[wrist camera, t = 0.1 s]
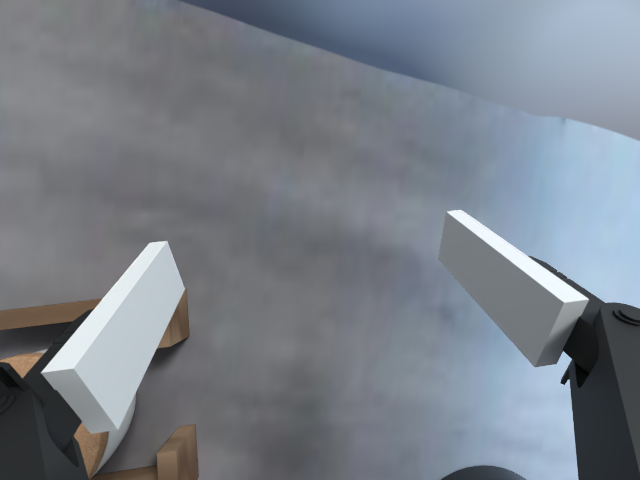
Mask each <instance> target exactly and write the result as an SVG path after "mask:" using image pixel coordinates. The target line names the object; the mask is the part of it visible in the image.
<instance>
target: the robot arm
mask: <svg viewBox="0 0 640 480" xmlns="http://www.w3.org/2000/svg"><path fill="white" fill-rule="evenodd" d="M438 260H439V261H440V262H441V263H442V264H443V265H444V266H445V267H446V269H447V270H448V271H449V272H450V273H451V274H452V275H453V276H454V277H455V279H456V280H457V281H458V282H459V283H460V284H461V285H462V286H463V288H464V289H465V290H466V291H467V292H468V293H469V294H470V295H471V296H472V298H473V299H474V300H475V301H476V302H477V303H478V304H479V305H480V307H481V308H482V309H483V310H484V311H485V312H486V313H487V314H488V316H489V317H490V318H491V319H492V320H493V321H494V322H495V323H496V324H497V326H498V327H499V328H500V329H501V330H502V331H503V332H504V333H505V335H506V336H507V337H508V338H509V339H510V340H511V341H512V342H513V343H514V345H515V346H516V347H517V348H518V349H519V350H520V351H521V352H522V354H523V355H524V356H525V357H526V358H527V359H528V360H529V361H530V363H531V364H532V365H533V366H534V367H539V366H546V365H553V364H557V362H558V360H559V358H560V356H561V354H562V352H563V351H564V352H565V353H566V354H567V355H568V356H569V357H570V358H572V361H571V362H570V364H569V366H568V368H567V370H566V372H565V373H564V375H563V377H562V379H561V384H564V385H565V383H566V382H567V380H568V379H570V388H571V399H572V410H573V421H574V432H575V444H576V455H577V466H578V477H579V480H640V309H639V308H636V307H633V306H630V305H627V304H621V303H605V302H603V301H602V300H600V299H599V298H597V297H596V296H594V295H593V294H591V293H590V292H588V291H587V290H585V289H584V288H582V287H581V286H579V285H578V284H576V283H575V282H574V281H572V280H571V279H567V277H566V276H565V275H563V274H562V273H560V272H557V270H556V269H554V268H553V267H551V266H550V265H548V264H547V263H545V262H543V261H541V260H538V259H536V258H534V257H531V256H527V255H525V254H524V253H522V252H521V251H519V250H518V249H517V248H515V247H514V246H512V245H511V244H509V243H508V242H507V241H505V240H504V239H502V238H501V237H499V236H498V235H497V234H495V233H494V232H492V231H491V230H489V229H488V228H486V227H485V226H484V225H482V224H481V223H479V222H478V221H476V220H475V219H474V218H472V217H471V216H469V215H468V214H466V213H465V212H464V211H462V210H456V211H447V212H446V216H445V222H444V228H443V234H442V240H441V246H440V252H439V258H438ZM184 290H185V288H184V286H183V283H182V280H181V277H180V275H179V272H178V269H177V266H176V264H175V261H174V258H173V255H172V253H171V250H170V247H169V244H168V242H167V241H163V242H153V243H149V244H148V245H147V247H146V248H145V249H144V250H143V251H142V253H141V254H140V255H139V256H138V257H137V259H136V260H135V261H134V262H133V263H132V265H131V266H130V267H129V268H128V269H127V271H126V272H125V273H124V274H123V275H122V277H121V278H120V279H119V280H118V281H117V282H116V284H115V285H114V286H113V287H112V288H111V290H110V291H109V292H108V293H107V294H106V296H105V297H104V298H103V299H102V300H101V302H100V303H99V304H98V305H97V306H96V308H95V309H91V310H87V311H86V312H85V313H83V314H82V315H81V316H79V317H78V318H76V319H75V320H74V321H73V322H72V323H71V324H70V325H69V326H68V327H67V328H66V330H65V331H64V332H63V333H62V335H61V336H59V337H58V339H57V340H56V341H55V342H54V343H53V346H50V348H49V349H48V350H47V351H46V352H45V353H44V354H43V355H42V357H41V358H40V359H39V360H38V361H37V362H36V363H35V365H34V366H33V367H32V368H31V369H30V370H29V371H28V372H27V374H26V375H25V376H24V377H23V378H22V377H21V376H20V375H19V374H18V373H17V371H16V370H15V369H14V368H13V367H12V366H11V365H10V363H5V362H0V480H89V477H88V474H87V470H86V467H85V463H84V460H83V456H82V453H81V449H80V445H79V442H78V441H77V440H76V439H75V437H74V434H75V433H76V431H77V429H78V428H79V426H80V424H81V423H82V424H83V425H84V426H85V427H86V428H87V430H88V431H89V432H90V433H91V434H93V433H100V432H106V431H113V430H118V429H119V427H120V425H121V423H122V420H123V418H124V416H125V414H126V412H127V410H128V408H129V406H130V404H131V402H132V399H133V397H134V395H135V393H136V391H137V389H138V387H139V385H140V383H141V380H142V378H143V376H144V374H145V372H146V370H147V368H148V366H149V364H150V362H151V359H152V357H153V355H154V353H155V351H156V349H157V347H158V345H159V343H160V341H161V338H162V336H163V334H164V332H165V330H166V328H167V326H168V324H169V322H170V319H171V317H172V315H173V313H174V311H175V309H176V307H177V305H178V303H179V301H180V298H181V296H182V294H183V292H184ZM443 480H526V479H525V478H523V477H522V476H520V475H518V474H516V473H514V472H512V471H510V470H507V469H504V468H500V467H495V466H474V467H469V468H465V469H462V470H459V471H457V472H454V473H452V474H451V475H449V476H447V477H446V478H444V479H443Z"/></svg>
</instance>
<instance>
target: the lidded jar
mask: <svg viewBox="0 0 640 480" xmlns="http://www.w3.org/2000/svg"><path fill="white" fill-rule="evenodd" d="M47 350H48V349H45V350H41V351H37V352H33V353H27V354H21V355H17V356H13V357H9V358H5V359H2V360H0V362H5V363H10V365H11V366H12V367H13V368H14V369H15V370H16V371H17V373H18V374H19V375H20V376H21V377H22V378H23V377H24V376H25V375H26V374H27V372H28V371H29V370H30V369H31V368H32V367H33V366H34V365H35V363H36V362H37V361H38V360H39V359H40V358H41V357H42V355H43V354H44V353H45V352H46V351H47ZM135 404H136V393H135V395H134V397H133V399H132V402H131V404H130V406H129V408H128V410H127V412H126V414H125V416H124V418H123V420H122V423H121V425H120V427H119V429H118V430H113V431H106V432H100V433H93V434H91V433H90V432H89V431H88V430H87V428H86V427H85V426H84V425H83V424H82V423H81V424H80V426H79V428H78V429H77V431H76V433H75V434H74V437H75V439H76V440H77V441H78V442H79V445H80V449H81V453H82V456H83V460H84V463H85V467H86V470H87V474H88V477H89V480H90V479H91V478H92V477H93V476H94V475H95V474H96V473H97V472H98V471H99V470H100V468H101V467H102V466H103V465H104V464H105V463H106V462H107V460H108V459H109V458H110V457H111V455H112V454H113V453H114V452H115V450H116V449H117V447H118V446H119V444H120V443H121V441H122V439H123V438H124V436H125V435H126V432H127V430H128V428H129V426H130V424H131V421H132V418H133V414H134V411H135Z"/></svg>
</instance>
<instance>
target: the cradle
mask: <svg viewBox="0 0 640 480" xmlns="http://www.w3.org/2000/svg"><path fill="white" fill-rule="evenodd" d="M101 300H102V299H96V300H88V301H79V302H71V303H62V304H54V305H45V306H37V307H29V308H20V309H12V310H3V311H0V330H5V329H13V328H22V327H30V326H38V325H46V324H54V323H62V322H70V321H74V320H75V319H76V318H78V317H79V316H81V315H82V314H83V313H85V312H86V311H87V310H91V309H95V308H96V306H97V305H98V304H99V303H100V302H101ZM189 336H190V335H189V320H188V304H187V289H185V290H184V292H183V294H182V296H181V298H180V301H179V303H178V305H177V307H176V309H175V311H174V313H173V315H172V317H171V319H170V322H169V324H168V326H167V328H166V330H165V332H164V334H163V336H162V338H161V341H160V343H159V345H158V347H157V348H163V347H170V346H172V345H174V344H176V343H178V342H180V341H181V340H183V339H185V338H187V337H189ZM198 477H199V473H198V458H197V443H196V427H195V424H194V425H187V426H180V427H178V428H177V429H176V431H175V432H174V433H173V434H172V436H171V437H170V438H169V439H168V441H167V442H166V443H165V444H164V445H163V447H162V448H161V449H160V450H159V452H158V453H157V465H156V466H150V467H143V468H137V469H131V470H124V471H118V472H112V473H106V474H99V475H94V476H93V477H92V478H91V479H90V480H197V479H198Z"/></svg>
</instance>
